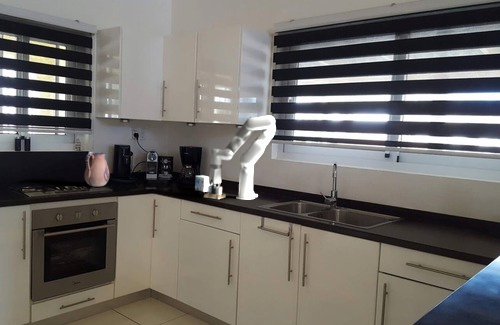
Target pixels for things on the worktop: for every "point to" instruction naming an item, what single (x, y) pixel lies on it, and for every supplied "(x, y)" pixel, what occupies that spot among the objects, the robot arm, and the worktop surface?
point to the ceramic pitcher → (96, 169)
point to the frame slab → (218, 190)
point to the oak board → (215, 196)
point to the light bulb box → (202, 183)
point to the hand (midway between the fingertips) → (215, 193)
